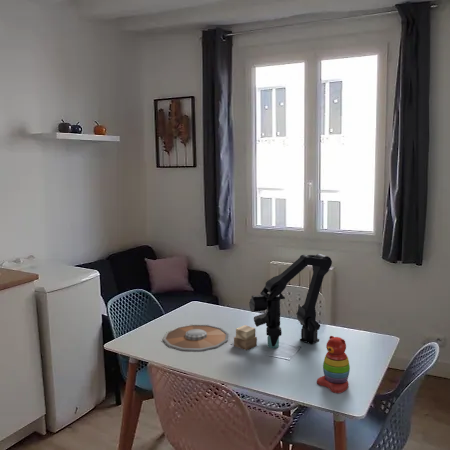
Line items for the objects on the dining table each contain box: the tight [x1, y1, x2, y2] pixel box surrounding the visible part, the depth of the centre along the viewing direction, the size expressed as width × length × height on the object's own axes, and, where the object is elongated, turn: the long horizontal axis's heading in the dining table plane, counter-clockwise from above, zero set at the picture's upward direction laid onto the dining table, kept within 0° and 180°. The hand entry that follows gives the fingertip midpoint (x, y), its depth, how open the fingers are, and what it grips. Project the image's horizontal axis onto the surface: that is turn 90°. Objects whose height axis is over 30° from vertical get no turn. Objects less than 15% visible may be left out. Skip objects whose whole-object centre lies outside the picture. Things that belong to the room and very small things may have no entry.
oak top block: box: [235, 324, 256, 341], centre depth 207 cm, size 6×6×4 cm
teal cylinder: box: [266, 335, 280, 349], centre depth 207 cm, size 5×5×4 cm
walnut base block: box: [233, 336, 258, 351], centre depth 208 cm, size 7×7×4 cm
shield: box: [162, 324, 229, 352], centre depth 217 cm, size 30×3×30 cm
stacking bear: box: [316, 335, 351, 394], centre depth 172 cm, size 11×10×18 cm
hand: (273, 343), depth 207 cm, fingers closed on teal cylinder, 5 cm apart
